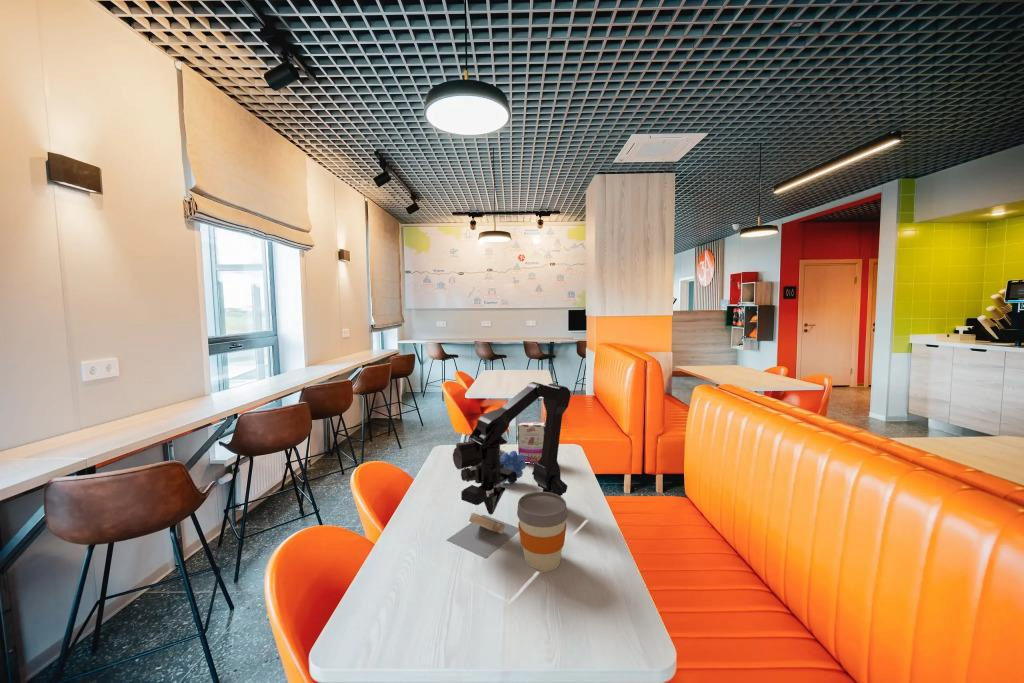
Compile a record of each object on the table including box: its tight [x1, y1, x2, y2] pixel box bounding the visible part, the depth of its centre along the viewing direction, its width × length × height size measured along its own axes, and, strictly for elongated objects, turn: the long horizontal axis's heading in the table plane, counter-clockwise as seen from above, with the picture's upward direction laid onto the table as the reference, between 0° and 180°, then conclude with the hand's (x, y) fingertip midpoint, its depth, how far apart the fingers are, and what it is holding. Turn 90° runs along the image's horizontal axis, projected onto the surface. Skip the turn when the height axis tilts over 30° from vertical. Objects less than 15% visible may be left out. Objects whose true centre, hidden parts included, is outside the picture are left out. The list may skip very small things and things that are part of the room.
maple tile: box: [468, 512, 505, 534], centre depth 110 cm, size 2×8×6 cm
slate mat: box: [446, 514, 519, 559], centre depth 110 cm, size 16×14×1 cm
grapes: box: [500, 450, 527, 484], centre depth 143 cm, size 12×7×12 cm, turn 96°
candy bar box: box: [517, 421, 546, 463], centre depth 161 cm, size 11×5×16 cm, turn 80°
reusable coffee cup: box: [516, 491, 568, 572], centre depth 99 cm, size 13×13×15 cm
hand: (490, 513), depth 112 cm, fingers closed
